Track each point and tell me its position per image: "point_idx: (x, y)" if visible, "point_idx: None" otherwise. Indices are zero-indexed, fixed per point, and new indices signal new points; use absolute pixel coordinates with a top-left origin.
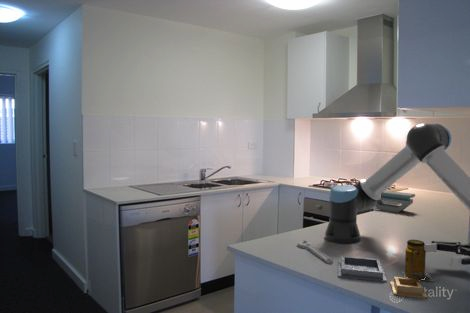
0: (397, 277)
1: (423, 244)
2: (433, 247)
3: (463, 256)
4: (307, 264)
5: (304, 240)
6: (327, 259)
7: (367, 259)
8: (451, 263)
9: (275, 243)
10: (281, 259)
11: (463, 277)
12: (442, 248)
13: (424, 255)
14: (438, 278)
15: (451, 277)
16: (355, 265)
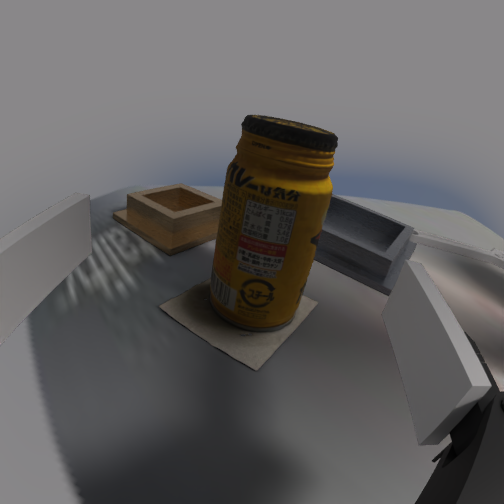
0: (220, 203)
1: (246, 122)
2: (435, 380)
3: (10, 241)
4: (392, 215)
5: None
6: (416, 233)
7: (391, 245)
8: (86, 235)
9: (497, 244)
10: (415, 211)
11: (86, 489)
12: (435, 489)
13: (226, 185)
14: (176, 358)
15: (138, 427)
16: (378, 243)
